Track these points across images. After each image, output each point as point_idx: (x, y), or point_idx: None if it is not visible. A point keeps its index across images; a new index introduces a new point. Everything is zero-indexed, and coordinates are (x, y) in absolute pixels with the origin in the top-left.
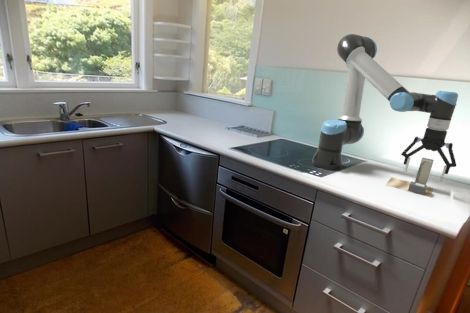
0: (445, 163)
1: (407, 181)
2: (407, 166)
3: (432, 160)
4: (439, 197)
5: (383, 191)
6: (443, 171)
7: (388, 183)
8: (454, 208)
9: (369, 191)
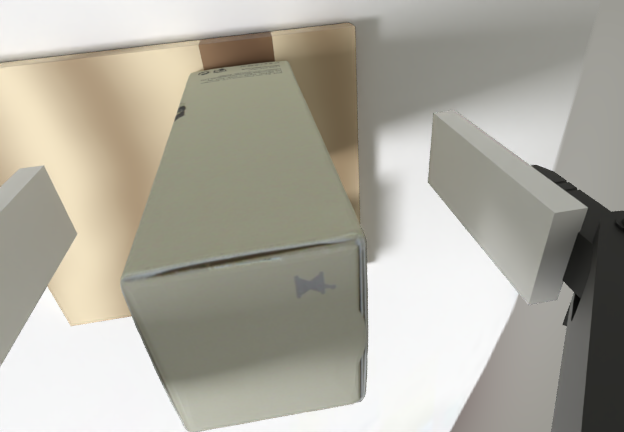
0: (567, 343)
1: (108, 60)
2: (43, 290)
3: (350, 313)
4: (408, 155)
5: (117, 368)
6: (492, 251)
7: (58, 283)
8: (480, 261)
9: (77, 423)
